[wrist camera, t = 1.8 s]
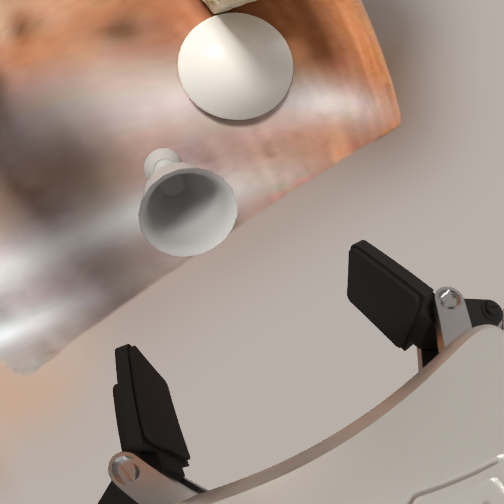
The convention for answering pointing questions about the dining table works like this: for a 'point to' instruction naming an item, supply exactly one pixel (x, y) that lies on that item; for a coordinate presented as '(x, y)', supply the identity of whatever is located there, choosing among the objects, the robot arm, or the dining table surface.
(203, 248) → the chalice
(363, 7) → the dining table surface
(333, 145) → the dining table surface
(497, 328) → the robot arm
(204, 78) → the plate
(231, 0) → the storage basket
